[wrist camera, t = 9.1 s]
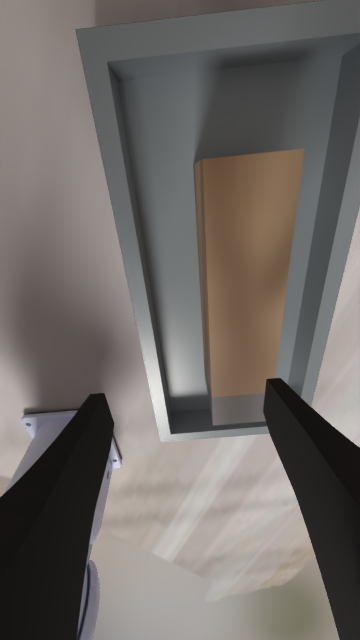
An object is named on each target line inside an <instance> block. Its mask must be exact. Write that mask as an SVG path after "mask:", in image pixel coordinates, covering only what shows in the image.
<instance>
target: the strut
mask: <svg viewBox="0 0 360 640" xmlns="http://www.w3.org/2000/svg"><path fill="white" fill-rule="evenodd" d="M304 150H305V149H295V150H286V151H276V152H267V153H257V154H248V155H238V156H229V157H219V158H210V159H202V160H200V161H199V162H197V163H195V164H193V171H194V189H195V208H196V226H197V244H198V262H199V280H200V298H201V317H202V335H203V353H204V371H205V381H206V387H207V393H208V399H209V405H210V411H211V417H212V423H213V426H214V425H226V424H238V423H250V422H262V421H266V420H265V417H264V413H263V405H264V397H265V388H266V379H271V378H275V374H276V366H277V358H278V351H279V343H280V335H281V328H282V320H283V312H284V304H285V297H286V289H287V281H288V274H289V266H290V258H291V250H292V243H293V235H294V227H295V220H296V212H297V204H298V197H299V189H300V181H301V173H302V166H303V158H304Z"/></svg>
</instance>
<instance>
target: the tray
mask: <svg viewBox="0 0 360 640" xmlns="http://www.w3.org/2000/svg"><path fill="white" fill-rule="evenodd" d="M75 30H76V35H77V40H78V45H79V49H80V54H81V59H82V64H83V69H84V74H85V78H86V83H87V88H88V93H89V98H90V103H91V107H92V112H93V117H94V122H95V127H96V132H97V136H98V141H99V146H100V151H101V156H102V161H103V165H104V170H105V175H106V180H107V185H108V190H109V195H110V199H111V204H112V209H113V214H114V219H115V224H116V228H117V233H118V238H119V243H120V248H121V253H122V257H123V262H124V267H125V272H126V277H127V282H128V286H129V291H130V296H131V301H132V306H133V311H134V315H135V320H136V325H137V330H138V335H139V340H140V345H141V349H142V354H143V359H144V364H145V369H146V374H147V378H148V383H149V388H150V393H151V398H152V403H153V407H154V412H155V417H156V422H157V427H158V432H159V436H160V441H161V442H172V441H184V440H196V439H208V438H220V437H232V436H244V435H256V434H268V433H269V430H268V427H267V424H266V421H262V422H250V423H238V424H226V425H214V426H213V423H212V417H211V411H210V405H209V399H208V393H207V387H206V381H205V371H204V353H203V335H202V317H201V298H200V280H199V262H198V244H197V226H196V208H195V189H194V171H193V164H195V163H197V162H199V161H200V160H202V159H210V158H219V157H229V156H238V155H248V154H257V153H267V152H276V151H286V150H295V149H305V150H304V158H303V166H302V173H301V181H300V189H299V197H298V204H297V212H296V220H295V227H294V235H293V243H292V250H291V258H290V266H289V274H288V281H287V289H286V297H285V304H284V312H283V320H282V328H281V335H280V343H279V351H278V358H277V366H276V374H275V378H281V379H283V380H284V381H285V382H286V383H287V384H288V385H289V386H290V387H291V388H292V389H293V390H294V391H295V392H296V393H297V394H298V395H299V396H300V397H301V398H302V399H303V400H304V401H305V402H306V403H307V404H308V405H309V406H310V407H311V404H312V400H313V396H314V392H315V388H316V384H317V380H318V376H319V371H320V367H321V363H322V359H323V355H324V351H325V347H326V343H327V338H328V334H329V330H330V326H331V322H332V318H333V314H334V310H335V306H336V301H337V297H338V293H339V289H340V285H341V281H342V277H343V273H344V268H345V264H346V260H347V256H348V252H349V248H350V244H351V240H352V235H353V231H354V227H355V223H356V219H357V215H358V211H359V207H360V0H322V1H313V2H305V3H296V4H288V5H279V6H271V7H262V8H254V9H245V10H237V11H228V12H220V13H211V14H203V15H194V16H186V17H177V18H169V19H160V20H151V21H143V22H134V23H126V24H117V25H109V26H100V27H92V28H83V29H75Z"/></svg>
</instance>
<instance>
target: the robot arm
mask: <svg viewBox="0 0 360 640" xmlns="http://www.w3.org/2000/svg"><path fill="white" fill-rule="evenodd" d="M263 413H264V417H265V420H266V424H267V427H268V430H269V433H270V436H271V438H272V441H273V443H274V445H275V448H276V450H277V452H278V455H279V457H280V459H281V462H282V464H283V466H284V469H285V471H286V473H287V476H288V478H289V480H290V482H291V485H292V487H293V490H294V492H295V495H296V497H297V500H298V503H299V506H300V509H301V512H302V515H303V518H304V521H305V524H306V527H307V530H308V533H309V537H310V540H311V543H312V546H313V549H314V552H315V555H316V559H317V562H318V565H319V569H320V572H321V575H322V579H323V582H324V585H325V589H326V592H327V596H328V599H329V603H330V606H331V610H332V613H333V617H334V620H335V624H336V628H337V631H338V635H339V639H340V640H360V448H359V447H358V446H357V445H355V444H354V443H353V442H351V441H350V440H349V439H348V438H346V437H345V436H344V435H343V434H341V433H340V432H339V431H338V430H337V429H335V428H334V427H333V426H332V425H331V424H330V423H328V422H327V421H326V420H325V419H324V418H323V417H322V416H320V415H319V414H318V413H317V412H316V411H315V410H314V409H313V408H312V407H310V406H309V405H308V404H307V403H306V402H305V401H304V400H303V399H302V398H301V397H300V396H299V395H298V394H297V393H296V392H295V391H294V390H293V389H292V388H291V387H290V386H289V385H288V384H287V383H286V382H285V381H284V380H283V379H281V378H271V379H266V388H265V397H264V405H263ZM21 421H22V423H23V425H24V426H25V428H26V429H27V431H28V433H29V434H30V436H31V438H32V439H33V440H32V441H31V443H30V445H29V447H28V449H27V451H26V453H25V455H24V457H23V458H22V460H21V462H20V464H19V466H18V468H17V470H16V472H15V474H14V475H13V477H12V479H11V481H10V483H9V485H8V487H7V489H6V491H5V492H4V494H3V496H1V497H0V640H92V637H93V633H94V629H95V625H96V619H97V614H98V607H99V597H100V584H99V578H98V572H97V568H96V565H95V563H94V562H93V561H92V560H89V558H90V554H91V549H92V544H93V542H94V541H95V539H96V537H97V535H98V533H99V530H100V527H101V523H102V518H103V513H104V508H105V503H106V498H107V493H108V489H109V484H110V479H111V474H112V469H113V468H120V467H121V465H122V462H121V459H120V456H119V453H118V451H117V448H116V445H115V442H114V439H113V429H114V422H113V419H112V415H111V412H110V409H109V406H108V403H107V400H106V397H105V394H104V393H98V394H90V395H89V397H88V398H87V399H86V400H85V402H84V403H83V404H82V406H81V407H80V408H79V410H74V411H63V412H51V413H40V414H28V415H24V416H23V417H22V419H21Z"/></svg>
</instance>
